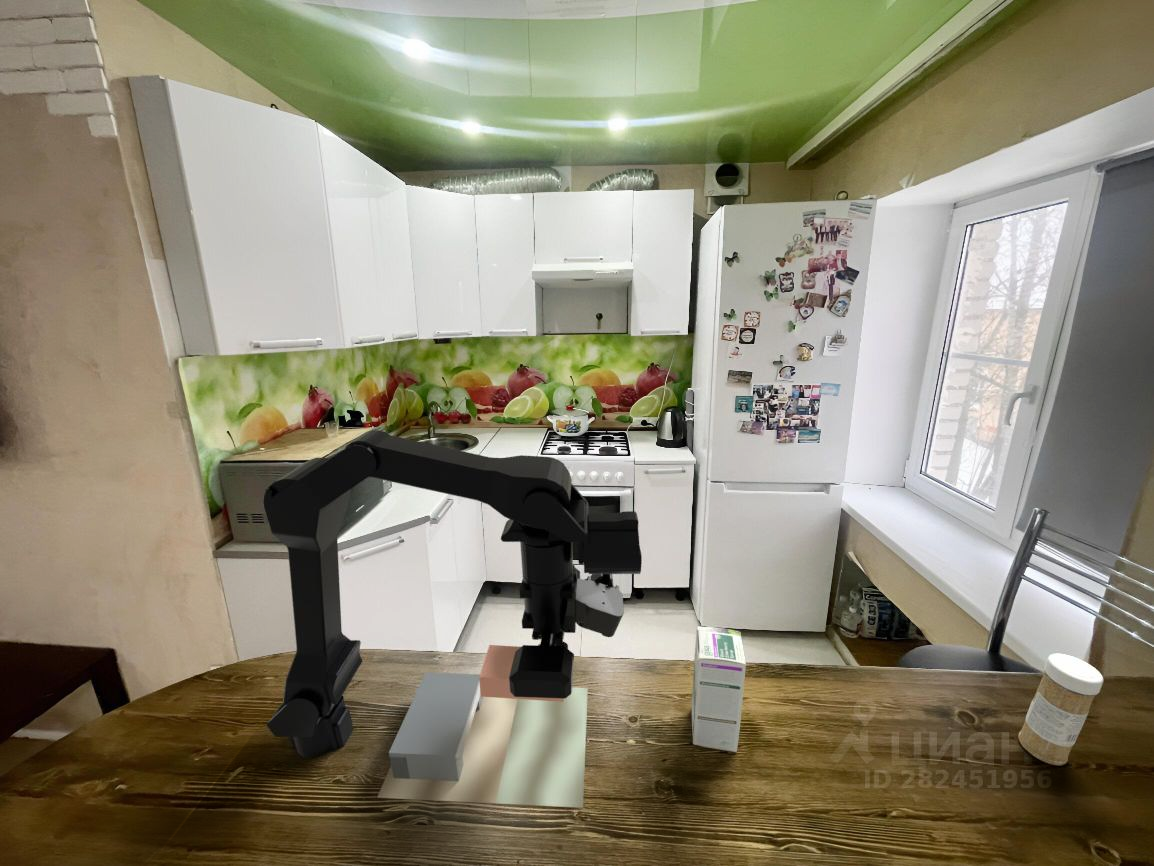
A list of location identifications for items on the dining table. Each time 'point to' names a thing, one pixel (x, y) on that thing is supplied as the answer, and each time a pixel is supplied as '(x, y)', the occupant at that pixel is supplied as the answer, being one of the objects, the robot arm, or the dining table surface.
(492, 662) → the pink eraser
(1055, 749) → the sprinkles bottle
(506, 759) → the board
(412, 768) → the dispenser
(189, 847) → the dining table surface
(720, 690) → the syrup box
